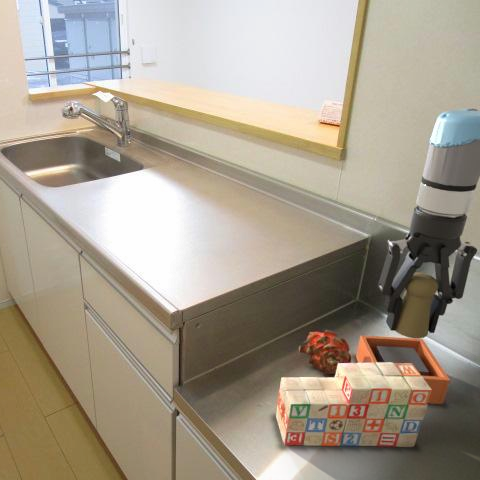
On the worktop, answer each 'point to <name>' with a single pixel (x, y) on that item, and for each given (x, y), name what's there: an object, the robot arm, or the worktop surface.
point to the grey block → (401, 357)
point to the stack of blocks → (354, 406)
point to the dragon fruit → (326, 351)
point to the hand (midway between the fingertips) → (409, 327)
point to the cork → (416, 306)
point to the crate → (436, 374)
